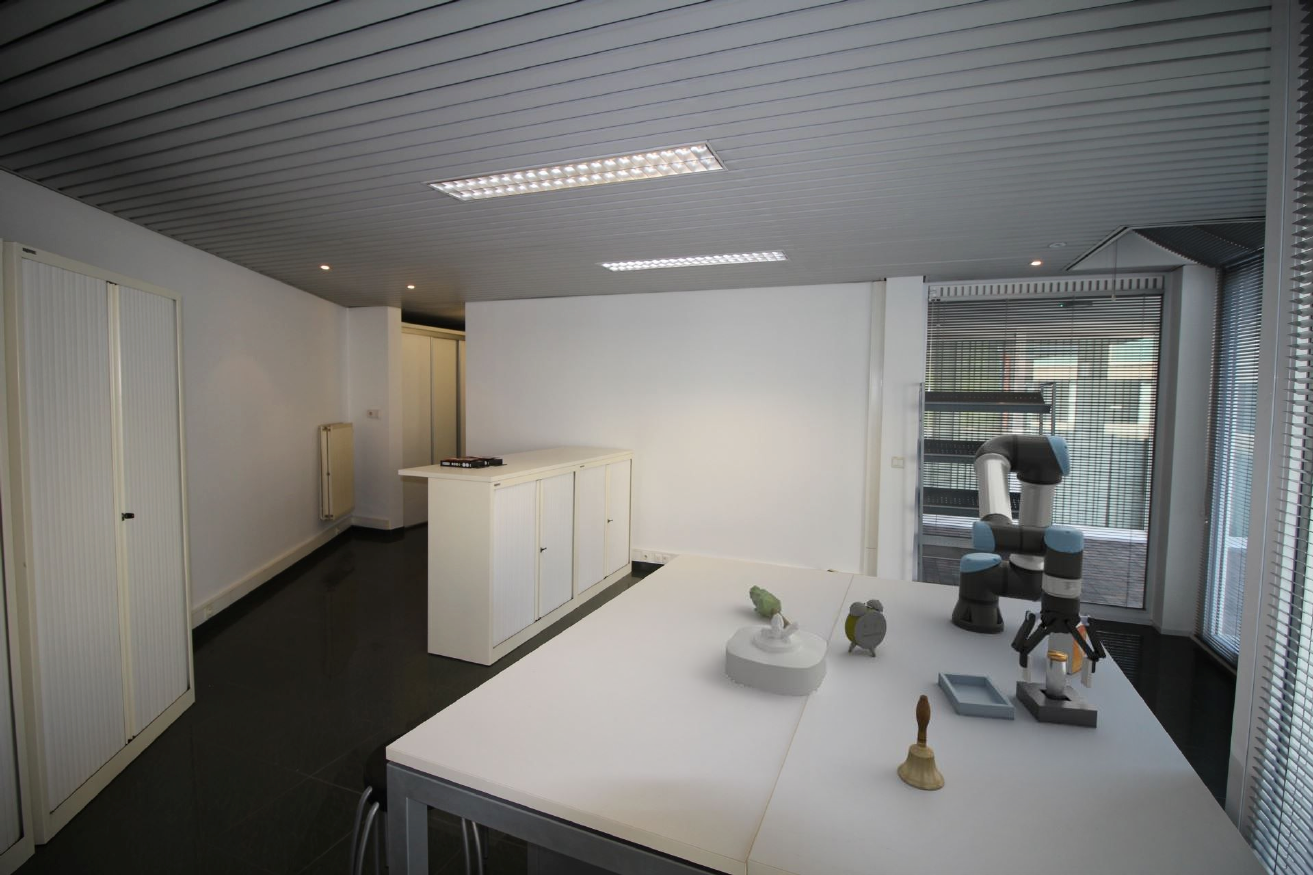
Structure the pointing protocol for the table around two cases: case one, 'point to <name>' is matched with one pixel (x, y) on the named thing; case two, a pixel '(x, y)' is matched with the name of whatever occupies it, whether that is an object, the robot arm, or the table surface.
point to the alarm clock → (865, 625)
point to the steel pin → (1056, 675)
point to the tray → (976, 696)
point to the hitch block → (1056, 706)
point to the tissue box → (777, 658)
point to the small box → (1068, 647)
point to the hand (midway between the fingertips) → (1055, 683)
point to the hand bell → (921, 755)
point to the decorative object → (766, 603)
